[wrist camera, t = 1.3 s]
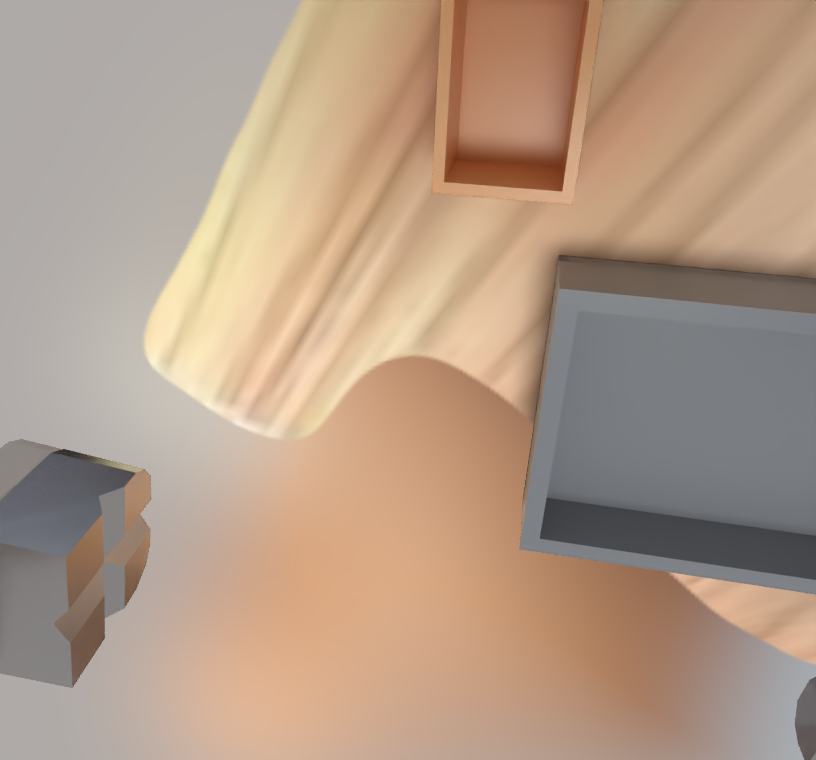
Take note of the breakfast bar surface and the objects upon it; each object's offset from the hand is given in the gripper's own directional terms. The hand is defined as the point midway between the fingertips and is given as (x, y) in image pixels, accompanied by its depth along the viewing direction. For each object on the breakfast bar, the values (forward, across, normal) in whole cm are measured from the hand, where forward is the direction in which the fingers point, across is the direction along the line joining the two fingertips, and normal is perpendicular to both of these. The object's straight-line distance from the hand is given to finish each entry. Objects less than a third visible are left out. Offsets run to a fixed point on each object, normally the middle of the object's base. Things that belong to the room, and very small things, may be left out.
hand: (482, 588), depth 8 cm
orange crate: (+29, 0, -4) cm, 29 cm away
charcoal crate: (+29, -15, +10) cm, 34 cm away
